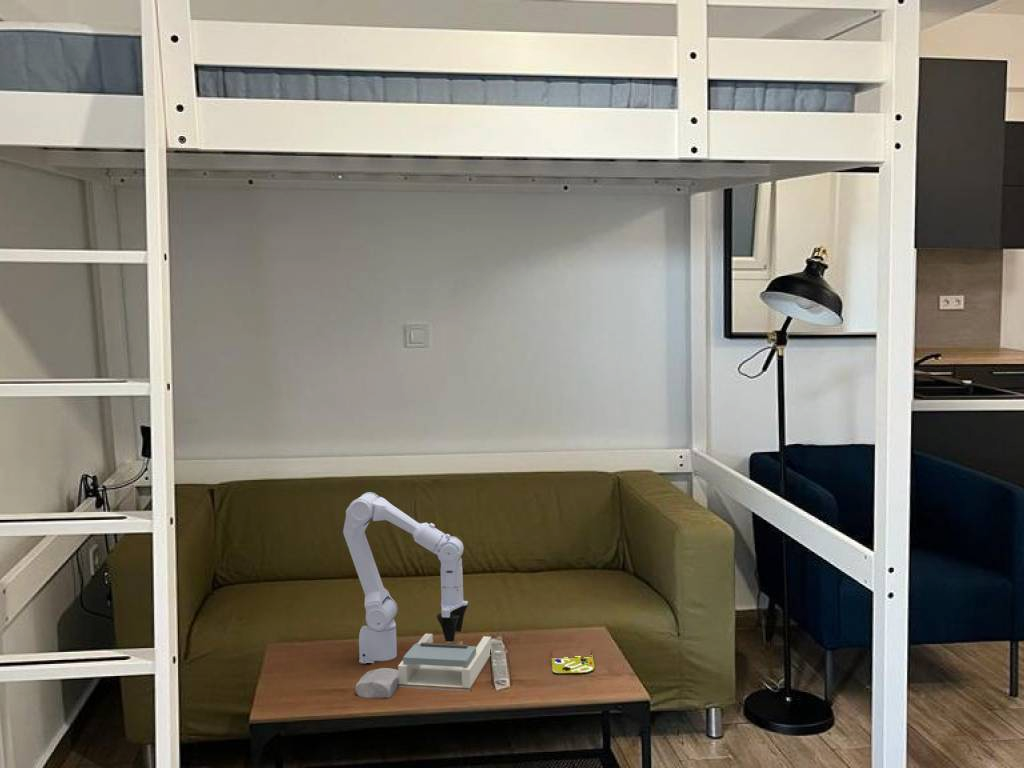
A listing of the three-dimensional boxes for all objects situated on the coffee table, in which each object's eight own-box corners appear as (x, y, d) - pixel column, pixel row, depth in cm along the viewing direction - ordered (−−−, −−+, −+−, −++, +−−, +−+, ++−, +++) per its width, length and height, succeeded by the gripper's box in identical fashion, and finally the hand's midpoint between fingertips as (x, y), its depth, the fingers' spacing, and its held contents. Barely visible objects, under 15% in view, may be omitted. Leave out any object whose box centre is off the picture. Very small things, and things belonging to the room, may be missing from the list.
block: (444, 660, 262) (443, 645, 261) (448, 655, 266) (447, 640, 265) (459, 661, 261) (458, 646, 261) (463, 655, 265) (462, 641, 265)
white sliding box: (398, 687, 247) (398, 665, 246) (425, 653, 270) (425, 633, 270) (470, 691, 243) (469, 669, 243) (491, 656, 267) (491, 636, 266)
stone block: (354, 705, 242) (393, 699, 240) (350, 685, 242) (389, 679, 240) (369, 687, 253) (407, 681, 251) (365, 669, 253) (403, 663, 251)
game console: (549, 652, 271) (549, 647, 271) (590, 651, 271) (590, 646, 271) (552, 677, 253) (552, 671, 253) (597, 676, 253) (597, 671, 253)
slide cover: (403, 663, 247) (403, 654, 247) (415, 649, 257) (414, 641, 257) (466, 667, 244) (466, 658, 244) (476, 652, 254) (475, 644, 253)
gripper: (460, 593, 254) (461, 646, 255) (473, 577, 268) (474, 627, 269) (433, 592, 255) (434, 644, 256) (447, 577, 269) (449, 626, 271)
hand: (453, 636), depth 263 cm, fingers open, 7 cm apart
